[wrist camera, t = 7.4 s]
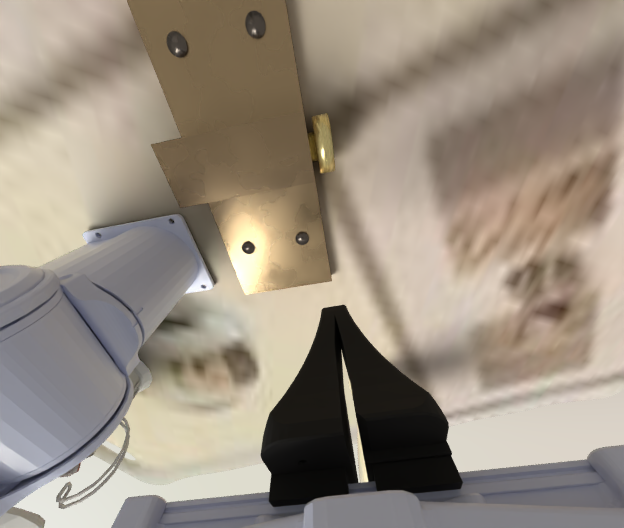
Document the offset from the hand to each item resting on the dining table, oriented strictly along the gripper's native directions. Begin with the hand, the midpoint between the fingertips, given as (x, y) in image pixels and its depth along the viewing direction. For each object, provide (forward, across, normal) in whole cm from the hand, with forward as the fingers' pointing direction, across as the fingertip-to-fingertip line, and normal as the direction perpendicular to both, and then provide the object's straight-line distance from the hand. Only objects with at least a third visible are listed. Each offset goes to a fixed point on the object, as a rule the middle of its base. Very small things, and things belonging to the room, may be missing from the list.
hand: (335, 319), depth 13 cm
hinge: (+10, +4, -9) cm, 14 cm away
